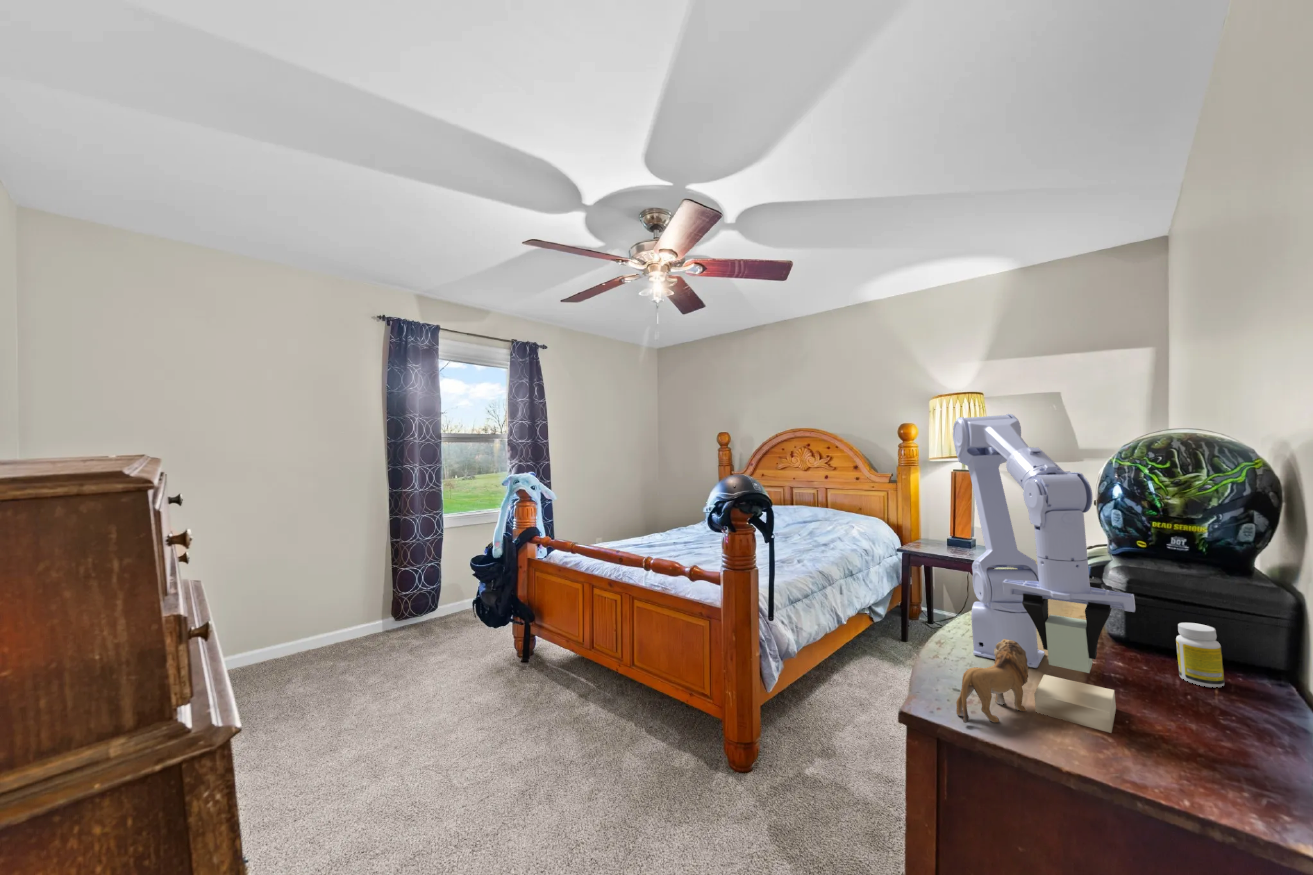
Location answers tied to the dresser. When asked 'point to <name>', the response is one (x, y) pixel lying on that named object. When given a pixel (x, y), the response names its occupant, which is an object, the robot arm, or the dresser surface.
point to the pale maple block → (1076, 702)
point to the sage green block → (1068, 643)
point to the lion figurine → (996, 680)
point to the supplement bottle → (1199, 655)
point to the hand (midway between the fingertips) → (1069, 652)
